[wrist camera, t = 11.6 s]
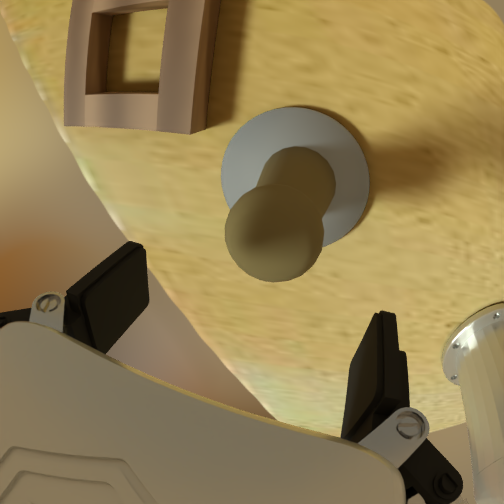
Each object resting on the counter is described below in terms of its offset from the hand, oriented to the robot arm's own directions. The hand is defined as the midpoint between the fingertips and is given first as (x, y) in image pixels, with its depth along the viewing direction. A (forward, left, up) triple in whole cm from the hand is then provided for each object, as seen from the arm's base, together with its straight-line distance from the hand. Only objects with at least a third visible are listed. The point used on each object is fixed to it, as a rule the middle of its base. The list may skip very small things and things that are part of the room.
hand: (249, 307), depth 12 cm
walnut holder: (+16, -10, -16) cm, 24 cm away
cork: (0, 0, -15) cm, 15 cm away
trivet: (+1, 0, -16) cm, 16 cm away
